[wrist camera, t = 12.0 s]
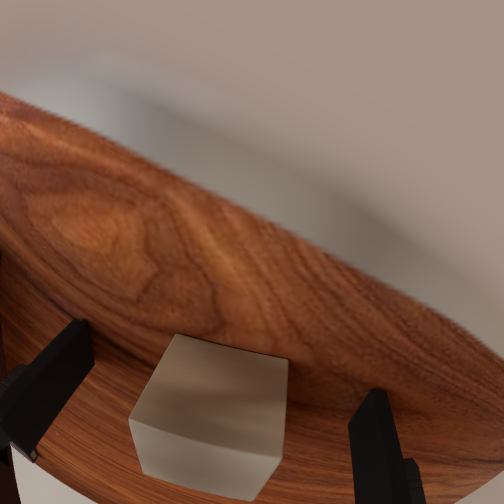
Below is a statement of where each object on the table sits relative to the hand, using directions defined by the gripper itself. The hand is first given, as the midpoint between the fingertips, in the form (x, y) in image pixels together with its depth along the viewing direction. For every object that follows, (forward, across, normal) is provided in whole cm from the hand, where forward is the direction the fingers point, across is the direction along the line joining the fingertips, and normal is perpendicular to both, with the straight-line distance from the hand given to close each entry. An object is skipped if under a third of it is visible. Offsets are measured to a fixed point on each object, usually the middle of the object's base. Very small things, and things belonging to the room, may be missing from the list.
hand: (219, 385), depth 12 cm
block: (0, 0, 0) cm, 0 cm away
